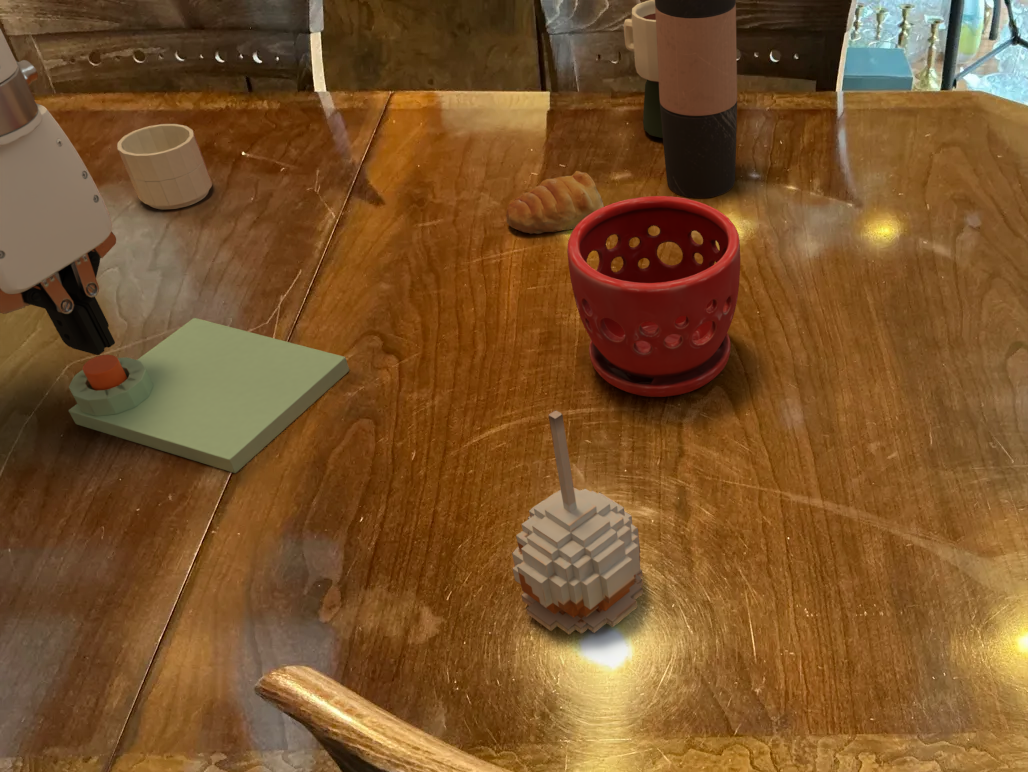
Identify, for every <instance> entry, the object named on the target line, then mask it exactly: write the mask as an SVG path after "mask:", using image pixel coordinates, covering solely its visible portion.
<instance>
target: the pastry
mask: <svg viewBox="0 0 1028 772" xmlns="http://www.w3.org/2000/svg"><path fill="white" fill-rule="evenodd" d="M602 207H605V206H604V202H603V199H602V196H601V194H600V192H599V191H598V189H597V185H596V183H595V181H594V180H593V178H592V177H591V176H590V175H589V174H588V173H587V172H585V171H584V172H582V171H579V170H576V171H574V173H572V175H565V176H562V175H561V176H557V177H554V178H546V179H544V180H542V181H541V182H540V183H539V184H538V185H537V186H535V187H534V188H533V189H531V190H530V191H525V192H523V193H522V194H521V195H519V196H518V197H517V198H515V199H514V200H513V201H512V202H511V203H508V206H507V208H506V215H505V217H506V219H505V222H506V223H507V225H508V226H509V227H511V228H513V229H515V230H518V231H520V232H522V233H528V234H530V235H533V234H536V235H541V234H543V233H556V232H561V231H569V230H574V228H575V227H576V226H577V224H578V223H579V222H580V221H581V220H583V219H584V218H585V217H586V216H588V215H589V214H591V213H593V212H594V211H596V210H598V209H600V208H602Z"/></svg>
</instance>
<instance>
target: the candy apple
mask: <svg viewBox="0 0 1028 772" xmlns="http://www.w3.org/2000/svg"><path fill="white" fill-rule="evenodd" d="M548 421H549V427H550V428H549V429H550V434H551V440H552V445H553V451H554V457H555V463H556V464H555V465H556V470H557V476H558V481H559V490H557V491H556V492H553V493H552V494H550V496H548V497H547V498H545V499H543V500H542V501H540V502H539V503H537V504H536V505H534V506H533V507H531V508H530V509H529V510H528V513H529V516H528V517H527V520H525V521H524V522H522V523H521V528H522V530H521V531H520V532H519V533H517V534H516V535H515V537H516V540H517V541H516V542H517V547H516V548H515V549H514V551H513V552H511V555H512V560H513V563H514V566H513V567H512V573H513V578H514V581H515V582H516V583H518V584H519V585H520V586H521V591H522V594H521V595H520V596H521V600H522V602H523V603H525V605H528V606H527V607H525V608H526V609H525V610H526V614H527V615H528V616H529V617H531V618H532V619H534V620H535V621H537V622H538V623H539V624H540V625H542V626H543V627H545V628H546V629H547V630H548V631H550V632H552V631H553V630H554V629H556V628H557V627H558V628H559V629H560V630H562V631H563V632H565V633H566V634H568V635H571V634H573V632H574V631H577V632H578V633H580V634H581V635H582V634H583V633H585V632H586V631H587V630H589V631H590V632H592V633H593V634H595V633H596V632H598V631H599V630H600V629H601V628H602V627H603V626H605V625H606V624H607V625H609V626H610V627H612V628H614V627H616V625H617V624H619V623H620V622H621V621H622V620H624V619H625V618H626V617H627V616H628V615H630V614H631V613H632V612H633V611H635V610H636V609H637V608H638V601H637V599H638V598H639V597H641V596H642V595H644V589H643V587H642V586H643V585H644V582H643V578H642V577H643V576H644V574H643V569H641V544H640V535H639V527H637V526H636V525H634V524H633V517H632V514H630V513H628V512H626V511H625V507H624V506H623V505H621V504H620V503H618V502H616V501H614V500H613V499H611V498H609V496H606V495H605V494H603V493H601V492H598V493H597V492H596V491H594V490H593V489H592V490H588V489H587V488H583V489H580V490H579V489H578V488H576V487H574V481H573V474H572V473H573V472H572V467H571V461H570V454H569V448H568V442H567V441H568V440H567V435H566V429H565V423H564V422H565V421H564V415H563V413H562V412H560V411H558V410H556V409H555V410H553V411H552V412H550V413H549V414H548Z"/></svg>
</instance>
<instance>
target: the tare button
mask: <svg viewBox="0 0 1028 772" xmlns="http://www.w3.org/2000/svg"><path fill="white" fill-rule="evenodd" d="M118 358H119V357H117V356H115V355H113V354H100V355H96V356H95V357H92V358H90V359H88V360H87V361H86V362H85V363H84V364H83V365H82V370H83V372H84V373H85V375H86V377H87V379H88V381H89V383H90V385H91V387H92V388H93V389H94V390H96V391H98V390H108V389H111V388H113V387H116V386H119V385H120V384H121V383H123V382H124V381H125V380H127V376H126V374H125V372H124V370H123V368H122V366H121V364H120V362H119V360H118Z"/></svg>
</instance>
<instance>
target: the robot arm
mask: <svg viewBox="0 0 1028 772" xmlns="http://www.w3.org/2000/svg"><path fill="white" fill-rule="evenodd" d="M38 73H39V72H38V71H37V69H36V67H35V65H33V64H32V63H31V62H30V61H29V60H26V59H23V60H20V61H18V60H16V58H15V55H14V54H13V52H12V50H11V48H10V46H9V44H8V42H7V39H6V37H5V35H4V33H3V31H2V28H0V314H2V315H6V314H11V313H13V312H16V311H19V310H23V309H25V308H26V307H28V306H34V307H38V308H40V309H41V308H42V309H45V311H46V313H47V315H48V317H49V319H50V321H51V322H52V324H53V326H54V328H55V329H56V332H57V333H58V335H59V337H60V339H61V340H62V342H63V343H64V344H65V345H66V346H67V347H69V348H72V349H74V350H77V351H80V352H85V353H87V354H92V355H95V356H101V355H102V353H104V352H105V348H111V347H112V346H114V345H115V344H116V341H115V338H114V337H113V334H112V333H111V331H110V329H109V327H110V326H109V322H108V320H107V318H106V316H105V314H104V312H103V310H102V308H101V306H100V304H99V302H98V300H97V298H96V296H97V295H98V294H99V291H100V287H99V283H98V280H97V276H98V271H99V268H100V264H101V259H103V258H104V257H105V256H106V255H107V254H108V253H109V252H110V251H111V250H112V249H113V248H114V247H115V245H116V243H117V237H116V235H115V233H114V232H113V222H112V217H111V215H110V213H109V210H108V208H107V205H106V202H105V201H104V198H103V196H102V194H101V193H100V191H99V188H98V187H97V184H96V183H95V181H94V179H93V177H92V175H91V173H90V172H89V171H90V170H88V168H87V166H86V164H85V162H84V160H83V159H82V157H81V156H80V154H79V153H78V151H77V149H76V148H75V146H74V145H73V143H72V142H71V140H70V138H69V137H68V135H67V134H66V133H65V131H64V130H63V129H62V127H61V126H60V124H59V123H58V121H57V120H56V119H55V117H54V116H53V115H52V113H51V112H50V111H49V109H47V108H46V106H44V105H42V104H39V103H36V97H35V95H34V93H33V91H32V89H31V87H30V86H31V84H32V82H35V81H36V80H38V79H39V74H38Z"/></svg>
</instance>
